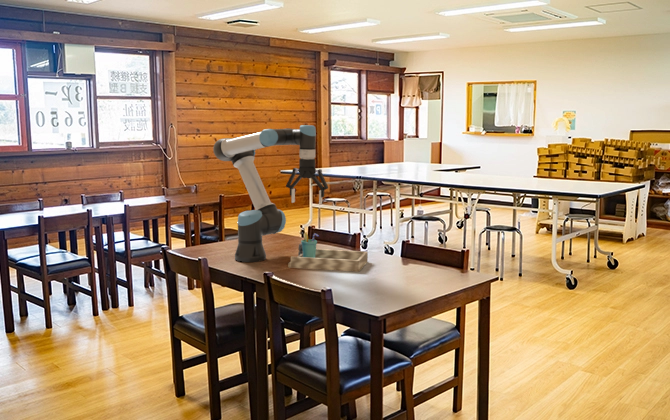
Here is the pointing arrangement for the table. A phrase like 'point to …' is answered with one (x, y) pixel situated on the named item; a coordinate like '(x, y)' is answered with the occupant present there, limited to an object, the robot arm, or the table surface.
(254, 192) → the robot arm
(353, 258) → the tray
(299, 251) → the winch
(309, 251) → the cup
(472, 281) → the table surface
